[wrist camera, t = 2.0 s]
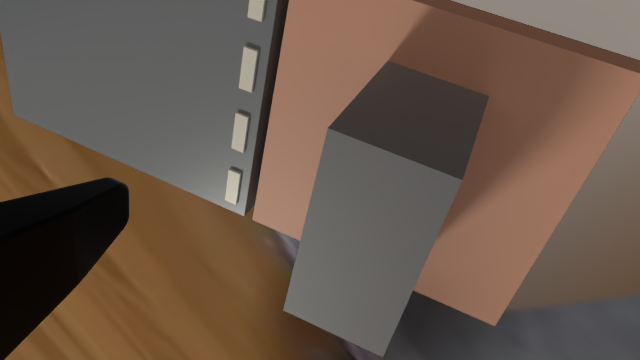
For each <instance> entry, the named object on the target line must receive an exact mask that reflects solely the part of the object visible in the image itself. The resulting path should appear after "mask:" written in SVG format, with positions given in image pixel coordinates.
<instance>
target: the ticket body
mask: <svg viewBox="0 0 640 360" xmlns="http://www.w3.org/2000/svg"><path fill="white" fill-rule="evenodd" d="M288 3H289V0H0V33H1V39H2V46H3V52H4V58H5V64H6V71H7V77H8V83H9V89H10V96H11V102H12V108H13V114H14V115H15V116H17V117H19V118H21V119H24V120H26V121H28V122H30V123H33V124H35V125H37V126H40V127H42V128H44V129H46V130H49V131H51V132H53V133H56V134H58V135H60V136H62V137H65V138H67V139H69V140H72V141H74V142H76V143H78V144H81V145H83V146H85V147H87V148H90V149H92V150H94V151H97V152H99V153H101V154H103V155H106V156H108V157H110V158H113V159H115V160H117V161H119V162H122V163H124V164H126V165H128V166H131V167H133V168H135V169H138V170H140V171H142V172H144V173H147V174H149V175H151V176H154V177H156V178H158V179H160V180H163V181H165V182H167V183H169V184H172V185H174V186H176V187H179V188H181V189H183V190H185V191H188V192H190V193H192V194H195V195H197V196H199V197H201V198H204V199H206V200H208V201H211V202H213V203H215V204H217V205H220V206H222V207H224V208H226V209H229V210H231V211H233V212H236V213H238V214H240V215H242V216H245V215H246V214H247V213H248V212H249V210H250V209H251V208H252V207H253V206H254V205H255V201H256V195H257V189H258V183H259V177H260V171H261V165H262V159H263V153H264V147H265V141H266V135H267V129H268V123H269V117H270V111H271V105H272V99H273V93H274V87H275V81H276V75H277V69H278V63H279V57H280V51H281V45H282V39H283V33H284V27H285V21H286V15H287V9H288Z"/></svg>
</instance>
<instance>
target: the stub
mask: <svg viewBox="0 0 640 360" xmlns="http://www.w3.org/2000/svg"><path fill="white" fill-rule="evenodd" d="M639 93H640V61H639V60H636V59H633V58H630V57H627V56H624V55H621V54H618V53H614V52H611V51H608V50H605V49H602V48H599V47H596V46H592V45H589V44H586V43H583V42H580V41H577V40H573V39H570V38H567V37H564V36H561V35H557V34H554V33H551V32H548V31H545V30H542V29H539V28H535V27H533V26H529V25H526V24H523V23H520V22H516V21H513V20H510V19H507V18H504V17H501V16H498V15H494V14H492V13H488V12H485V11H482V10H479V9H476V8H472V7H469V6H466V5H463V4H460V3H457V2H454V1H451V0H289V3H288V9H287V15H286V21H285V27H284V33H283V39H282V45H281V51H280V57H279V63H278V69H277V75H276V81H275V87H274V93H273V99H272V105H271V111H270V117H269V123H268V129H267V135H266V141H265V147H264V153H263V159H262V165H261V171H260V177H259V183H258V189H257V195H256V201H255V207H254V213H253V219H252V220H254V221H256V222H258V223H261V224H263V225H265V226H267V227H270V228H272V229H274V230H277V231H279V232H281V233H283V234H286V235H288V236H290V237H293V238H295V239H297V240H299V241H300V243H299V247H298V251H297V256H296V260H295V264H294V268H293V272H292V276H291V280H290V284H289V288H288V292H287V296H286V301H285V305H284V309H283V311H286V312H288V313H290V314H292V315H294V316H296V317H298V318H300V319H302V320H305V321H307V322H309V323H311V324H313V325H315V326H317V327H319V328H322V329H324V330H326V331H328V332H330V333H332V334H334V335H336V336H339V337H341V338H343V339H345V340H347V341H349V342H351V343H353V344H356V345H358V346H360V347H362V348H364V349H366V350H368V351H370V352H372V353H375V354H377V355H379V356H381V357H383V356H384V354H385V351H386V349H387V347H388V345H389V343H390V340H391V338H392V336H393V334H394V331H395V329H396V327H397V325H398V323H399V320H400V318H401V316H402V314H403V311H404V309H405V307H406V305H407V303H408V300H409V298H410V296H411V294H412V291H416V292H418V293H420V294H422V295H425V296H427V297H429V298H432V299H434V300H436V301H438V302H441V303H443V304H445V305H448V306H450V307H452V308H454V309H457V310H459V311H461V312H463V313H466V314H468V315H470V316H473V317H475V318H477V319H479V320H482V321H484V322H486V323H489V324H491V325H493V326H495V325H496V324H497V322H498V320H499V319H500V317H501V316H502V314H503V312H504V311H505V309H506V307H507V306H508V304H509V303H510V301H511V299H512V298H513V296H514V295H515V293H516V291H517V290H518V288H519V286H520V285H521V283H522V282H523V280H524V278H525V277H526V275H527V274H528V272H529V270H530V269H531V267H532V265H533V264H534V262H535V261H536V259H537V258H538V256H539V254H540V253H541V251H542V249H543V248H544V246H545V245H546V243H547V241H548V240H549V238H550V237H551V235H552V233H553V232H554V230H555V229H556V227H557V225H558V224H559V222H560V220H561V219H562V217H563V216H564V214H565V212H566V211H567V209H568V208H569V206H570V204H571V202H572V201H573V199H574V198H575V196H576V195H577V193H578V191H579V190H580V188H581V187H582V185H583V183H584V182H585V180H586V179H587V177H588V175H589V174H590V172H591V171H592V169H593V167H594V166H595V164H596V162H597V161H598V159H599V157H600V156H601V154H602V153H603V151H604V149H605V148H606V146H607V145H608V143H609V142H610V140H611V138H612V137H613V135H614V133H615V132H616V130H617V129H618V127H619V125H620V124H621V122H622V121H623V119H624V117H625V116H626V114H627V113H628V111H629V109H630V108H631V106H632V104H633V103H634V101H635V100H636V98H637V96H638V95H639Z"/></svg>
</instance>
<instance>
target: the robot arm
mask: <svg viewBox="0 0 640 360" xmlns="http://www.w3.org/2000/svg"><path fill="white" fill-rule="evenodd" d="M128 218H129V189H128V187H127V185H125V184H124V183H122V182H119V181H117V180H115V179H113V178H102V179H98V180H93V181H89V182H85V183H81V184H76V185H72V186H68V187H64V188H59V189H55V190H51V191H47V192H42V193H38V194H34V195H29V196H25V197H21V198H17V199H12V200H8V201H4V202H0V360H4V359H5V358H6V357H7V356H8V355H9V354H10V353H11V352H12V351H13V350H14V349H15V348H16V347H17V346H18V345H19V344H20V343H21V342H22V341H23V340H24V339H25V338H26V337H27V336H28V335H29V334H30V333H31V332H32V331H33V330H34V329H35V328H36V327H37V326H38V325H39V324H40V323H41V322H42V321H43V320H44V319H45V318H46V317H47V316H48V315H49V314H50V313H51V312H52V311H53V310H54V309H55V308H56V307H57V306H58V305H59V304H60V303H61V302H62V301H63V300H64V299H65V298H66V297H67V296H68V295H69V294H70V293H71V291H72V290H73V289H74V288H75V287H76V286H77V285H78V284H79V283H80V282H81V281H82V279H83V278H84V277H85V276H86V275H87V274H88V272H89V271H90V270H91V269H92V267H93V266H94V265H95V264H96V262H97V261H98V260H99V259H100V257H101V256H102V255H103V254H104V252H105V251H106V250H107V249H108V247H109V246H110V245H111V244H112V242H113V241H114V240H115V239H116V237H117V236H118V235H119V234H120V232H121V231H122V230H123V229H124V227H125V226H126V224H127V222H128Z"/></svg>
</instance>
